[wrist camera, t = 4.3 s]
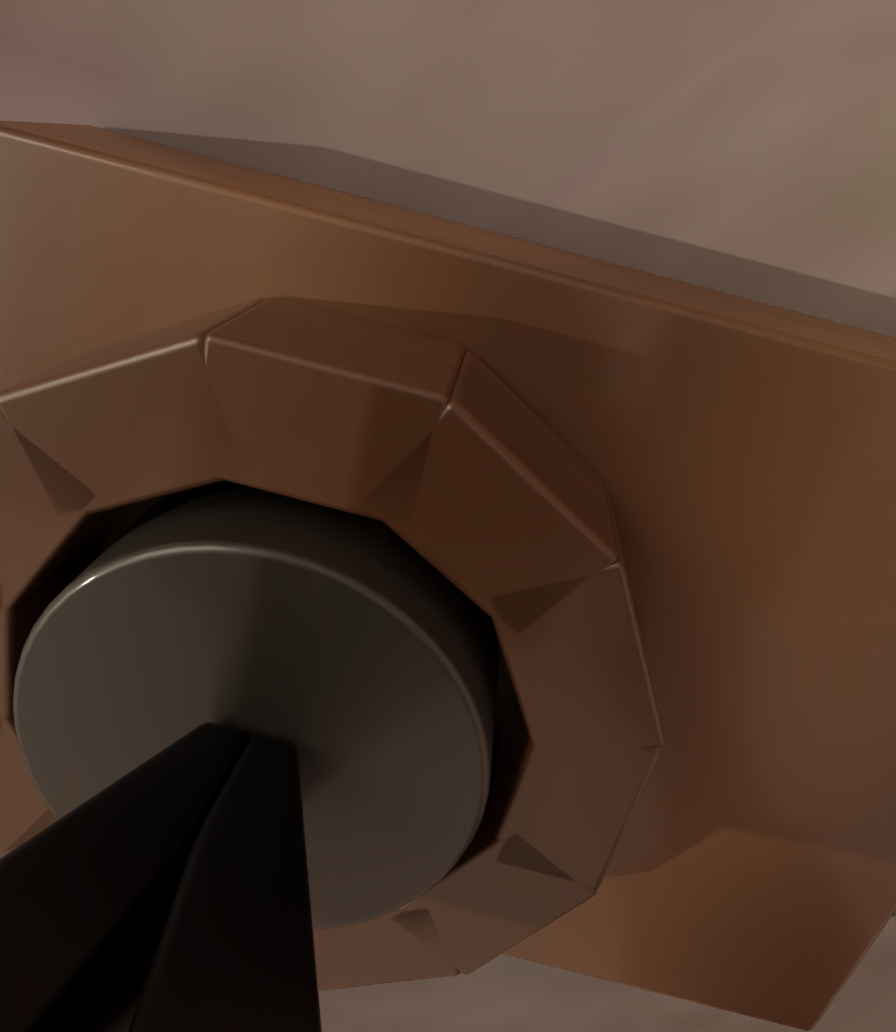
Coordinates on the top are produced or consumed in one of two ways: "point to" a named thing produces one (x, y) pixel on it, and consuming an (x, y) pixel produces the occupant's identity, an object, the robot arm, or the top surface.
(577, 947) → the button box
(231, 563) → the button
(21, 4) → the top surface
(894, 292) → the top surface
